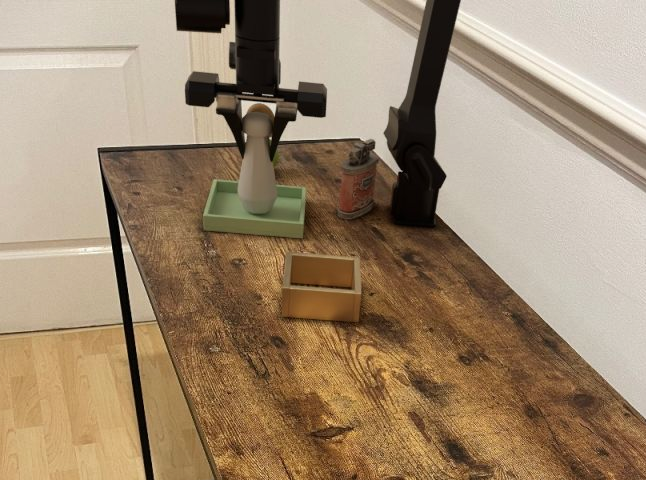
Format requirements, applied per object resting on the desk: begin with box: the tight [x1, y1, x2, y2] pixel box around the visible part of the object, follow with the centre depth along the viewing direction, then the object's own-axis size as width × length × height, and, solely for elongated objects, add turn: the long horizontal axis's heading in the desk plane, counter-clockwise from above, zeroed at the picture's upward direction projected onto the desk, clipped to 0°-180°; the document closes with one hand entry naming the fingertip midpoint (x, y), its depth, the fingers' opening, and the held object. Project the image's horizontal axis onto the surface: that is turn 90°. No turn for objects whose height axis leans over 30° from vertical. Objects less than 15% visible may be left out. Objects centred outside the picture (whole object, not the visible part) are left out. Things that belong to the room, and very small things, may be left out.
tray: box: [202, 178, 307, 239], centre depth 116 cm, size 14×13×2 cm
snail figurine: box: [246, 102, 279, 168], centre depth 125 cm, size 5×6×12 cm
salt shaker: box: [237, 112, 277, 213], centre depth 111 cm, size 6×6×13 cm
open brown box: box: [281, 251, 362, 323], centre depth 99 cm, size 10×10×4 cm
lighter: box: [337, 138, 380, 220], centre depth 118 cm, size 8×3×10 cm, turn 148°
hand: (257, 159), depth 111 cm, fingers closed on salt shaker, 3 cm apart
